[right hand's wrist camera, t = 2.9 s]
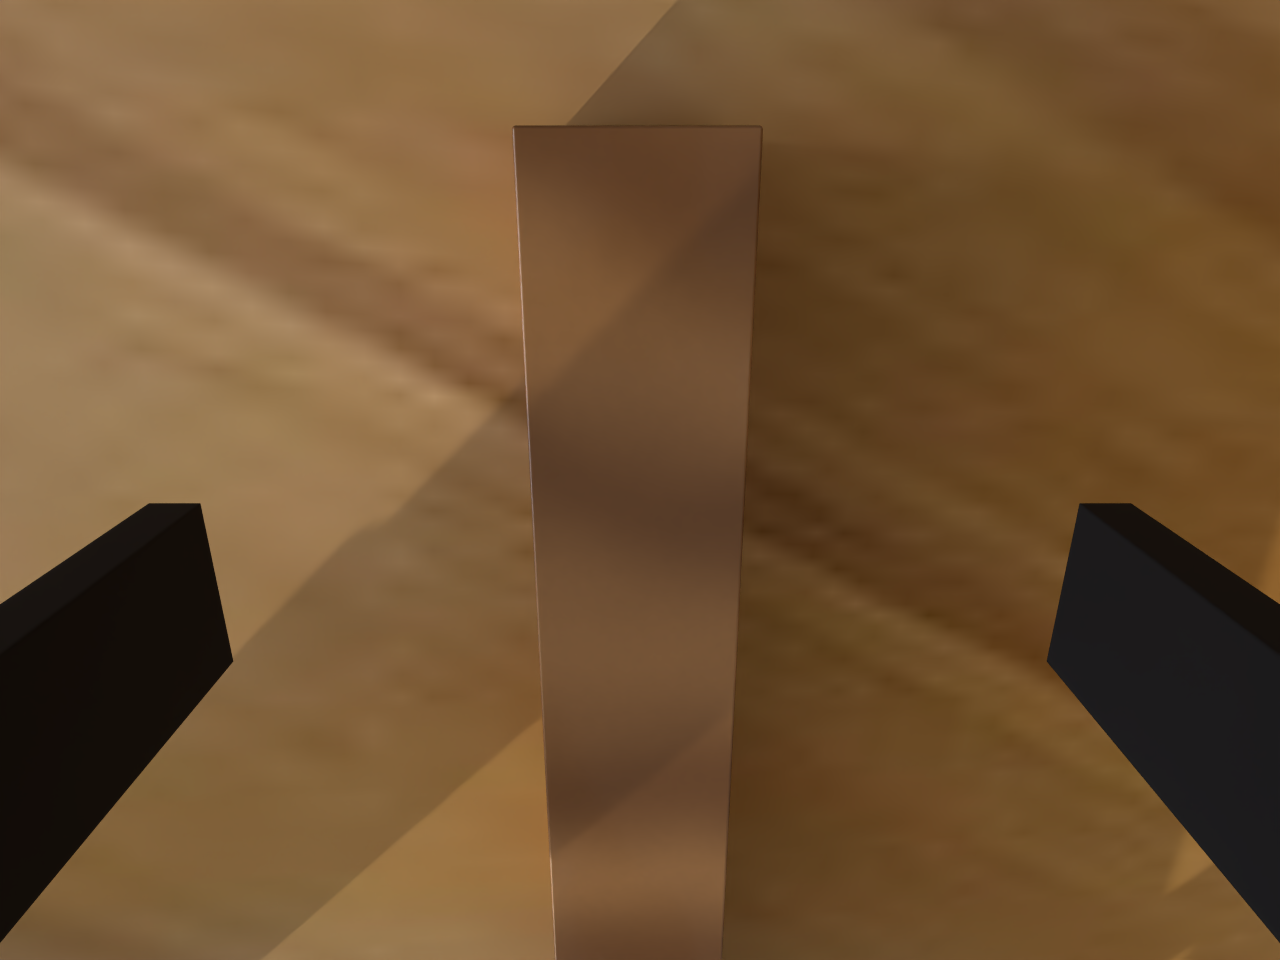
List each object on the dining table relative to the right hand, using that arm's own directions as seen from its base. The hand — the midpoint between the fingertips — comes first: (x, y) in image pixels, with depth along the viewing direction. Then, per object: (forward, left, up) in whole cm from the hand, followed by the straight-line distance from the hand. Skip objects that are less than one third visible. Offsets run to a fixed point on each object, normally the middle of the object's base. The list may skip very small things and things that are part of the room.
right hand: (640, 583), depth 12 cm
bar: (+13, +22, -14) cm, 30 cm away
